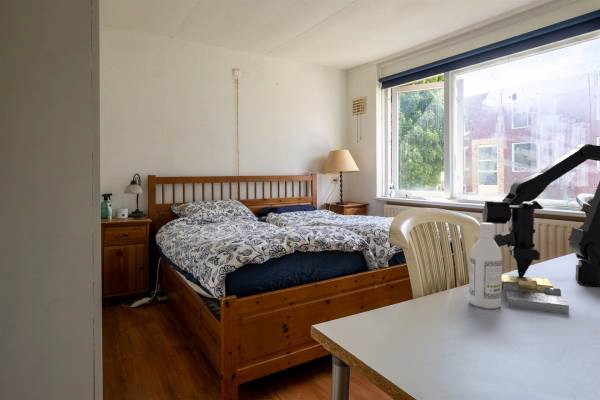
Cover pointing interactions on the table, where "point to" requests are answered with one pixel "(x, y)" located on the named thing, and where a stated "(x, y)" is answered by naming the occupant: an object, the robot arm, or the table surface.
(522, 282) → the brass hinge plate
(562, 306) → the fixed leaf
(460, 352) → the table surface
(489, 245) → the bath foam
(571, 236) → the robot arm
